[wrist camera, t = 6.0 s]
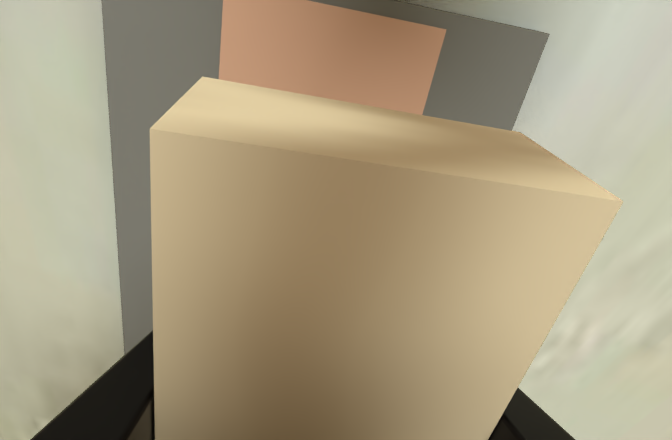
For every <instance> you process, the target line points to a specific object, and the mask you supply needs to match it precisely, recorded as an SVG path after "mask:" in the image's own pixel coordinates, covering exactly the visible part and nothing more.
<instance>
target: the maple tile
mask: <svg viewBox="0 0 672 440" xmlns="http://www.w3.org/2000/svg"><path fill="white" fill-rule="evenodd" d="M150 181H151V239H152V297H153V355H154V414H155V440H488V439H489V437H490V435H491V434H492V432H493V430H494V428H495V426H496V425H497V423H498V421H499V419H500V418H501V416H502V414H503V412H504V411H505V409H506V407H507V405H508V404H509V402H510V400H511V398H512V397H513V395H514V393H515V391H516V390H517V388H518V386H519V384H520V383H521V381H522V379H523V377H524V375H525V374H526V372H527V370H528V368H529V367H530V365H531V363H532V361H533V360H534V358H535V356H536V354H537V353H538V351H539V349H540V347H541V346H542V344H543V342H544V340H545V339H546V337H547V335H548V333H549V332H550V330H551V328H552V326H553V325H554V323H555V321H556V319H557V317H558V316H559V314H560V312H561V310H562V309H563V307H564V305H565V303H566V302H567V300H568V298H569V296H570V295H571V293H572V291H573V289H574V288H575V286H576V284H577V282H578V281H579V279H580V277H581V275H582V274H583V272H584V270H585V268H586V267H587V265H588V263H589V261H590V259H591V258H592V256H593V254H594V252H595V251H596V249H597V247H598V245H599V244H600V242H601V240H602V238H603V237H604V235H605V233H606V231H607V230H608V228H609V226H610V224H611V223H612V221H613V219H614V217H615V216H616V214H617V212H618V210H619V209H620V207H621V205H622V203H623V201H622V200H621V199H619V198H618V197H616V196H615V195H613V194H612V193H610V192H609V191H607V190H606V189H604V188H603V187H601V186H600V185H598V184H597V183H595V182H594V181H592V180H591V179H589V178H588V177H586V176H585V175H583V174H582V173H580V172H579V171H577V170H576V169H574V168H573V167H571V166H570V165H568V164H567V163H565V162H564V161H562V160H561V159H559V158H558V157H556V156H555V155H553V154H552V153H550V152H549V151H547V150H546V149H544V148H543V147H541V146H540V145H538V144H537V143H535V142H534V141H532V140H531V139H529V138H528V137H526V136H525V135H523V134H522V133H520V132H516V131H510V130H504V129H499V128H493V127H487V126H481V125H476V124H470V123H464V122H459V121H453V120H447V119H442V118H436V117H430V116H424V115H419V114H413V113H407V112H402V111H396V110H390V109H385V108H379V107H373V106H368V105H362V104H356V103H350V102H345V101H339V100H333V99H328V98H322V97H316V96H311V95H305V94H299V93H293V92H288V91H282V90H276V89H271V88H265V87H259V86H254V85H248V84H242V83H237V82H231V81H225V80H219V79H214V78H208V77H201V78H200V79H199V80H198V81H197V82H196V83H195V84H194V85H193V86H192V87H191V88H190V89H189V90H188V91H187V92H186V93H185V94H184V95H183V96H182V97H181V98H180V99H179V100H178V101H177V102H176V103H175V104H174V105H173V106H172V107H171V108H170V109H169V110H168V111H167V112H166V113H165V114H164V115H163V116H162V117H161V118H160V119H159V120H158V121H157V122H156V123H155V124H154V125H153V126H152V127H151V128H150Z"/></svg>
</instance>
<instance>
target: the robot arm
mask: <svg viewBox="0 0 672 440" xmlns="http://www.w3.org/2000/svg"><path fill="white" fill-rule="evenodd" d="M31 440H155V414H154V355H153V330H152V331H151V332H150V333H149V334H147V335H146V336H145V337H144V338H143V339H142V340H141V341H140V342H139V343H137V344H136V345H135V346H134V347H133V348H132V349H131V350H130V351H129V352H127V353H126V354H125V355H124V356H123V357H122V358H121V359H120V360H119V361H117V362H116V363H115V364H114V365H113V366H112V367H111V368H110V369H109V370H107V371H106V372H105V373H104V374H103V375H102V376H101V377H100V378H99V379H97V380H96V381H95V382H94V383H93V384H92V385H91V386H90V387H89V388H87V389H86V390H85V391H84V392H83V393H82V394H81V395H80V396H78V397H77V398H76V399H75V400H74V401H73V402H72V403H71V404H70V405H68V406H67V407H66V408H65V409H64V410H63V411H62V412H61V413H60V414H58V415H57V416H56V417H55V418H54V419H53V420H52V421H51V422H50V423H48V424H47V425H46V426H45V427H44V428H43V429H42V430H41V431H40V432H38V433H37V434H36V435H35V436H34V437H33V438H32V439H31ZM488 440H575V439H574V438H573V437H572V436H571V435H570V434H568V433H567V432H566V431H565V430H564V429H563V428H562V427H561V426H560V425H559V424H557V423H556V422H555V421H554V420H553V419H552V418H551V417H550V416H549V415H548V414H546V413H545V412H544V411H543V410H542V409H541V408H540V407H539V406H538V405H537V404H535V403H534V402H533V401H532V400H531V399H530V398H529V397H528V396H527V395H526V394H524V393H523V392H522V391H521V390H520V389H519V388H517V390H516V391H515V393H514V395H513V397H512V398H511V400H510V402H509V404H508V405H507V407H506V409H505V411H504V412H503V414H502V416H501V418H500V419H499V421H498V423H497V425H496V426H495V428H494V430H493V432H492V434H491V435H490V437H489V439H488Z"/></svg>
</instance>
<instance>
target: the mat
mask: <svg viewBox="0 0 672 440" xmlns="http://www.w3.org/2000/svg"><path fill="white" fill-rule="evenodd" d="M102 14H103V29H104V45H105V60H106V75H107V91H108V106H109V121H110V137H111V152H112V167H113V183H114V198H115V213H116V229H117V244H118V260H119V275H120V290H121V306H122V321H123V336H124V352H125V354H126V353H127V352H129V351H130V350H131V349H132V348H133V347H134V346H135V345H136V344H137V343H139V342H140V341H141V340H142V339H143V338H144V337H145V336H146V335H147V334H149V333H150V332H151V331H152V330H153V297H152V239H151V181H150V128H151V127H152V126H153V125H154V124H155V123H156V122H157V121H158V120H159V119H160V118H161V117H162V116H163V115H164V114H165V113H166V112H167V111H168V110H169V109H170V108H171V107H172V106H173V105H174V104H175V103H176V102H177V101H178V100H179V99H180V98H181V97H182V96H183V95H184V94H185V93H186V92H187V91H188V90H189V89H190V88H191V87H192V86H193V85H194V84H195V83H196V82H197V81H198V80H199V79H200V78H201V77H208V78H214V79H219V80H225V81H231V82H237V83H242V84H248V85H254V86H259V87H265V88H271V89H276V90H282V91H288V92H293V93H299V94H305V95H311V96H316V97H322V98H328V99H333V100H339V101H345V102H350V103H356V104H362V105H368V106H373V107H379V108H385V109H390V110H396V111H402V112H407V113H413V114H419V115H424V116H430V117H436V118H442V119H447V120H453V121H459V122H464V123H470V124H476V125H481V126H487V127H493V128H499V129H504V130H510V131H512V128H513V126H514V123H515V121H516V118H517V116H518V113H519V111H520V108H521V105H522V103H523V100H524V98H525V95H526V93H527V90H528V88H529V85H530V83H531V80H532V77H533V75H534V72H535V70H536V67H537V65H538V62H539V60H540V57H541V55H542V52H543V50H544V47H545V44H546V42H547V39H548V37H549V34H548V33H544V32H539V31H535V30H530V29H525V28H521V27H516V26H511V25H507V24H502V23H498V22H493V21H488V20H484V19H479V18H474V17H470V16H465V15H461V14H456V13H451V12H447V11H442V10H437V9H433V8H428V7H424V6H419V5H414V4H410V3H405V2H400V1H396V0H102Z"/></svg>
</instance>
